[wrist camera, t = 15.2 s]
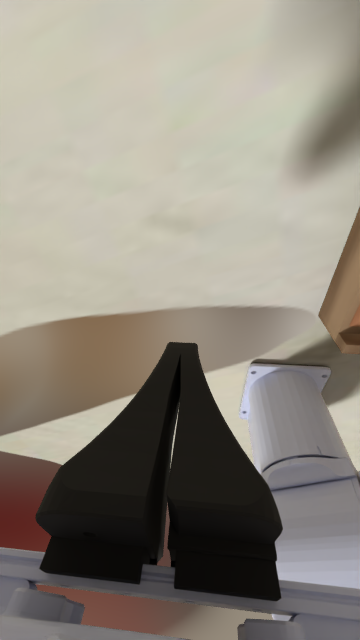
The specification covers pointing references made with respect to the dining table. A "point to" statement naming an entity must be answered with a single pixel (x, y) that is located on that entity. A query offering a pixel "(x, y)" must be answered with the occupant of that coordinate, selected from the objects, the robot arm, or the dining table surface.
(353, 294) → the case
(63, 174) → the dining table surface
